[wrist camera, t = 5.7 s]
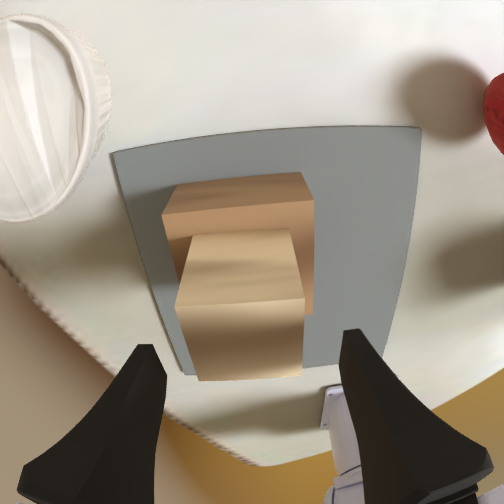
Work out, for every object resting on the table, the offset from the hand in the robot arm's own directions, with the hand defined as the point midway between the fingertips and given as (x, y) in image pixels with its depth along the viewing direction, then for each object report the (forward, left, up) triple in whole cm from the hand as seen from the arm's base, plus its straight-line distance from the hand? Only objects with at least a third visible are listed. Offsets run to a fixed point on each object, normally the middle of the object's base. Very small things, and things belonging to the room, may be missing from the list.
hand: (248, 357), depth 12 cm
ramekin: (+10, +11, -10) cm, 18 cm away
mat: (-4, -2, -10) cm, 11 cm away
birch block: (0, 0, -6) cm, 6 cm away
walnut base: (0, 0, -10) cm, 10 cm away
